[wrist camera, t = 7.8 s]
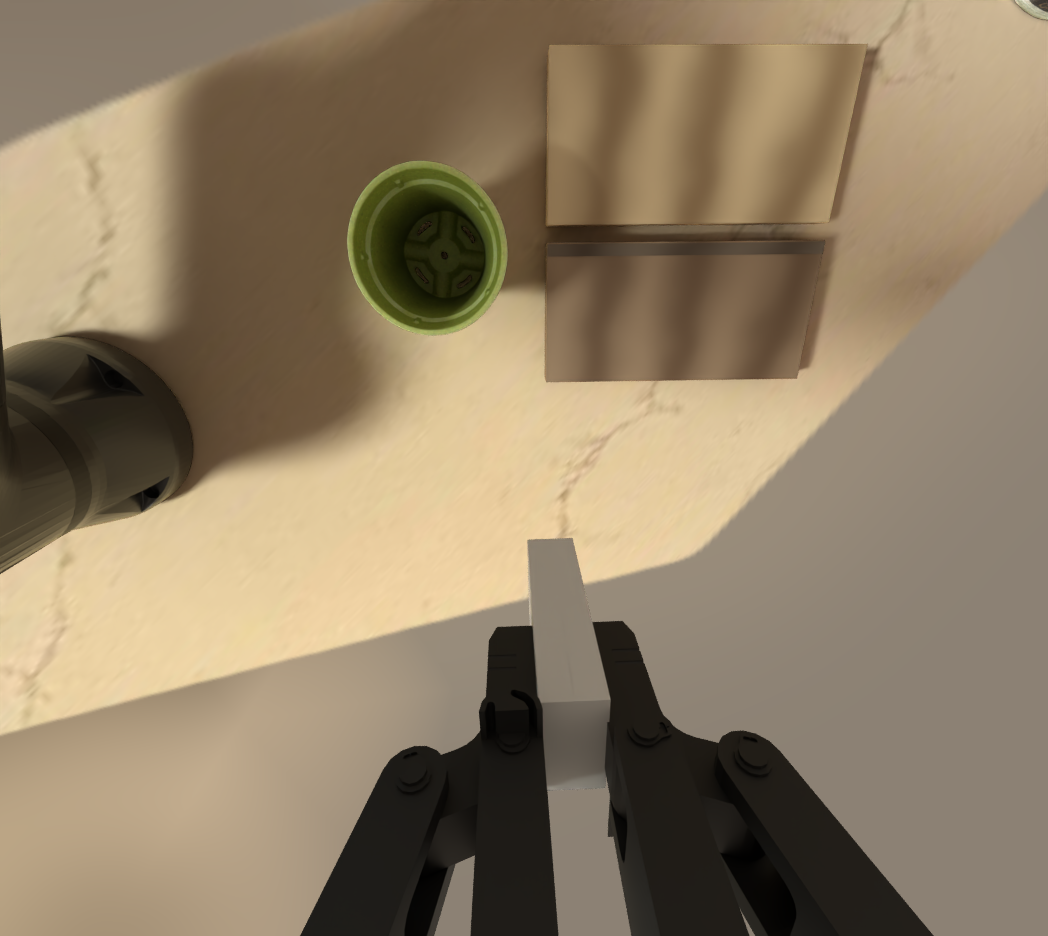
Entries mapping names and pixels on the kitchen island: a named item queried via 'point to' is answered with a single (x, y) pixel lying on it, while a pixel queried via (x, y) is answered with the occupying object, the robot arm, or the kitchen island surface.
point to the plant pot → (427, 247)
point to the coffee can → (1034, 8)
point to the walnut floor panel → (678, 309)
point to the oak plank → (697, 132)
